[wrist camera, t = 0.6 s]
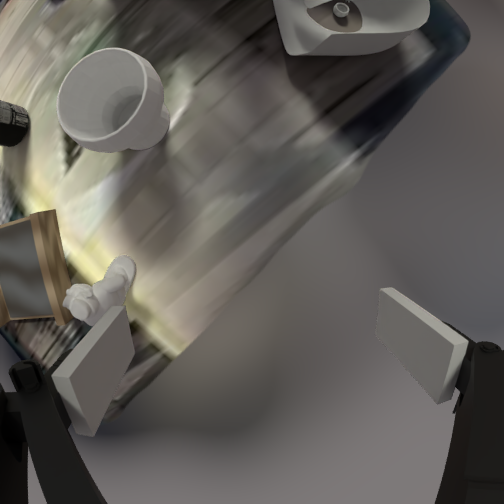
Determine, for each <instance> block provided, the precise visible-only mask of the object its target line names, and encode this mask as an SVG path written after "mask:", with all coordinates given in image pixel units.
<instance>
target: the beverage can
mask: <svg viewBox="0 0 504 504" xmlns="http://www.w3.org/2000/svg"><path fill="white" fill-rule="evenodd" d="M28 125H29V117H28V113H27V111H26V110H25V109H24V108H23V107H20V106H17V105H14V104H11V103H8V102H4V101H1V100H0V146H8V147H12V146H15V145H17V144H18V143H19V142H20V141H21V140H22V139H23V137H24V136H25V134H26V132H27V129H28Z"/></svg>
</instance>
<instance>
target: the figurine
mask: <svg viewBox="0 0 504 504" xmlns="http://www.w3.org/2000/svg"><path fill="white" fill-rule="evenodd" d="M135 273H136V264H135V262H134V260H133V259H132V258H131V257H129V256H127V255H119V256H118V257H116V258H115V259H114V260H113V261H112V263H111V264H110V266H109V267H108V270H107V272H106V273H105V276H104V279H103V280H101V281H98V282H96V283H94V284H93V286H92V287H91V286H89V285H87V284H74V285H73V286H72V287H71V288H70V289H67V290H66V294H67V296H66V297H65V299H64V301H63V307H67V309H69V310H70V312H71V314H72V315H73V316H74V317H75V318H77V319H79V320H81V321H83V320H84V321H85V322H86V323H87V324H88V325H90V326H94V325H95V324H96V323H97V322H98V321H99V320H100V319H101V318H102V317H103V315H104V314H105V313H106V312H107V311H108V310H109V309H110V308H111V307H112V306H122V305H123V303H124V301H125V298H126V294H127V292H128V290H129V288H130V286H131V284H132V281H133V279H134V276H135Z"/></svg>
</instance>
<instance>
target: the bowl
mask: <svg viewBox="0 0 504 504" xmlns="http://www.w3.org/2000/svg"><path fill="white" fill-rule="evenodd" d="M328 1H331V0H273V3H274V8H275V12H276V17H277V21H278V25H279V29H280V33H281V37H282V40H283V44H284V46H285V49H286V51H287V53H288V54H290V55H330V56H351V55H367V54H373V53H377V52H382V51H384V50H386V49H389V48H391V47H393V46H395V45H396V44H398V43H399V42H401V41H402V40H403V39H405V38H406V37H407V36H408V35H410V34H411V33H412V32H414V31H415V30H417V29H418V28H419V27H421V26H422V25H423V24H424V23H425V22H426V21H427V19H428V17H429V12H430V4H429V0H350V1H352V2H353V3H354V4H355V5H356V6H357V7H358V9H359V11H360V13H361V15H362V19H363V25H362V28H361V29H360V30H359V31H357V32H354V33H342V32H335V31H331V30H328V29H326V28H324V27H322V26H321V25H319V24H318V23H316V22H315V21H314V20H313V19H312V18H311V17H310V16H309V15H308V13H307V7H308V8H313V7H315V6H317V5H320V4H322V3H325V2H328ZM347 1H348V0H346V2H347ZM350 1H348V2H349V3H350ZM333 12H334V14H335V15H336V16H338V17H345V16H346V15H347V14H348V12H349V7H348V6H347V5H346V4H344V3H337V4H336V5H335V6H334V8H333Z"/></svg>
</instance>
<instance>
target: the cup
mask: <svg viewBox="0 0 504 504" xmlns="http://www.w3.org/2000/svg"><path fill="white" fill-rule="evenodd" d="M163 102H164V90H163V86H162V83H161V80H160V77H159V75H158V74H157V72H156V71H155V69H154V68H153V67H152V65H151V64H150V63H149V62H148V61H147V60H145V59H144V58H142V57H141V56H139V55H137V54H135V53H133V52H131V51H129V50H125V49H122V48H105V49H101V50H98V51H95V52H93V53H91V54H89V55H87V56H85V57H84V58H82V59H81V60H80V61H79V62H78V63H77V64H75V65H74V66H73V68H72V69H71V70H70V71H69V73H68V74H67V75H66V77H65V79H64V81H63V82H62V84H61V86H60V90H59V93H58V97H57V115H58V120H59V123H60V124H61V126H62V128H63V130H64V131H65V132H66V133H67V134H68V135H69V136H70V137H71V138H72V139H73V140H74V141H76V142H77V143H78V144H79V145H80V146H82V147H85V148H87V149H89V150H92V151H97V152H105V153H113V152H119V151H123V150H125V149H128V148H130V149H133V150H144V149H148V148H150V147H153V146H154V145H156V144H157V143H158V142H160V141H161V139H162V138H163V137H164V136H165V134H166V132H167V130H168V126H169V122H170V121H169V112H168V110H167V107H166V106H165V105H164V103H163Z"/></svg>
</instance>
